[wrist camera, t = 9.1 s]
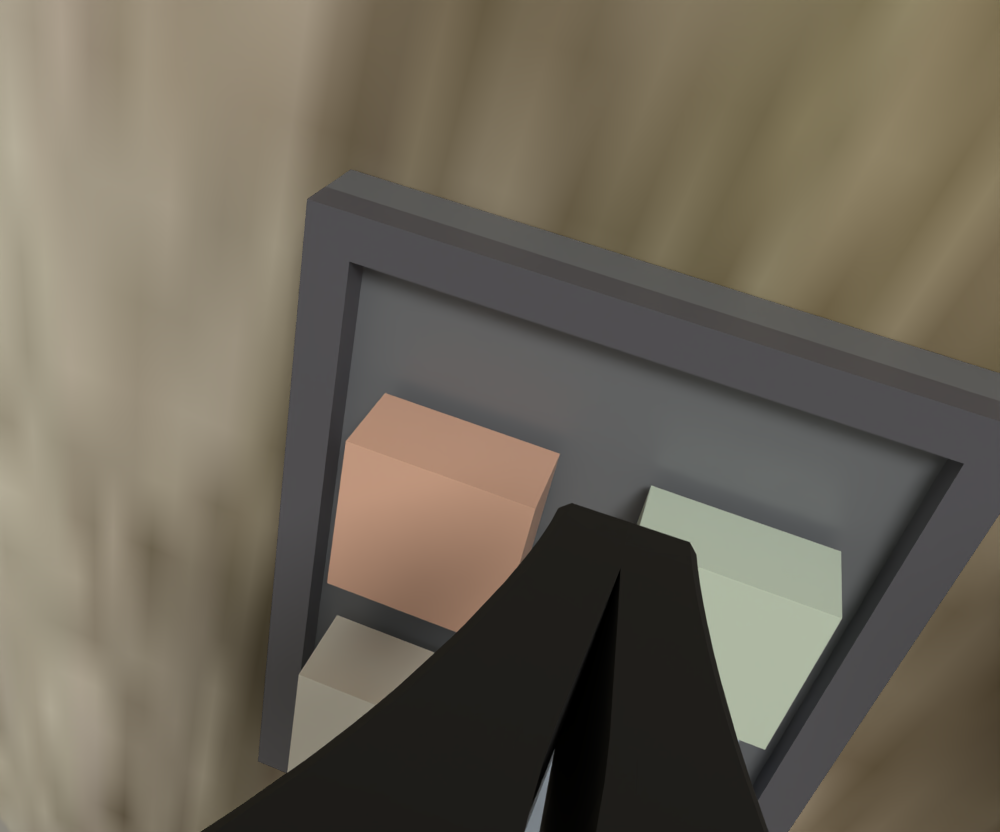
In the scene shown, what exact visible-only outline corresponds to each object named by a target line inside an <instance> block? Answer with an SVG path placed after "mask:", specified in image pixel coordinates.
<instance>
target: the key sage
mask: <svg viewBox="0 0 1000 832" xmlns="http://www.w3.org/2000/svg"><path fill="white" fill-rule="evenodd" d="M637 525H640V526H643V527H646V528H649V529H652V530H655V531H658V532H661V533H664V534H667V535H670V536H673V537H676V538H679V539H682V540H685V541H688V542H690V543H691V545H692V547H693V549H694V551H695V552H696V554H697V564H698V572H699V579H700V586H701V592H702V598H703V603H704V609H705V614H706V619H707V624H708V628H709V633H710V637H711V642H712V646H713V651H714V655H715V659H716V663H717V667H718V671H719V675H720V679H721V683H722V686H723V690H724V693H725V697H726V700H727V704H728V707H729V711H730V714H731V718H732V722H733V725H734V729H735V732H736V736H737V739H738V740H741V741H743V742H746V743H749V744H751V745H754V746H756V747H759V748H762V749H764V750H765V749H766V747H767V745H768V744H769V742H770V740H771V739H772V737H773V735H774V733H775V732H776V730H777V728H778V727H779V725H780V723H781V722H782V720H783V718H784V716H785V715H786V713H787V711H788V710H789V708H790V706H791V705H792V703H793V701H794V699H795V698H796V696H797V694H798V693H799V691H800V689H801V688H802V686H803V684H804V682H805V681H806V679H807V677H808V676H809V674H810V672H811V671H812V669H813V667H814V665H815V664H816V662H817V660H818V659H819V657H820V655H821V654H822V652H823V650H824V648H825V647H826V645H827V643H828V642H829V640H830V638H831V637H832V635H833V633H834V631H835V630H836V628H837V626H838V625H839V623H840V621H841V620H842V573H841V551H838V550H835V549H833V548H830V547H827V546H824V545H821V544H818V543H815V542H812V541H810V540H807V539H804V538H801V537H798V536H795V535H792V534H789V533H787V532H784V531H781V530H778V529H775V528H772V527H769V526H766V525H764V524H761V523H758V522H755V521H752V520H749V519H746V518H743V517H741V516H738V515H735V514H732V513H729V512H726V511H723V510H720V509H718V508H715V507H712V506H709V505H706V504H703V503H700V502H697V501H695V500H692V499H689V498H686V497H683V496H680V495H677V494H674V493H671V492H669V491H666V490H663V489H660V488H657V487H654V486H651V487H650V490H649V492H648V495H647V498H646V500H645V503H644V506H643V508H642V511H641V514H640V516H639V519H638V522H637Z"/></svg>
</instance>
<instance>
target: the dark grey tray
mask: <svg viewBox="0 0 1000 832" xmlns="http://www.w3.org/2000/svg"><path fill="white" fill-rule="evenodd" d="M385 393H387V394H390V395H392V396H395V397H398V398H401V399H404V400H407V401H410V402H413V403H415V404H418V405H421V406H424V407H427V408H430V409H433V410H436V411H438V412H441V413H444V414H447V415H450V416H453V417H456V418H459V419H461V420H464V421H467V422H470V423H473V424H476V425H479V426H482V427H484V428H487V429H490V430H493V431H496V432H499V433H502V434H505V435H507V436H510V437H513V438H516V439H519V440H522V441H525V442H528V443H530V444H533V445H536V446H539V447H542V448H545V449H548V450H551V451H553V452H556V453H559V454H560V456H559V459H558V462H557V466H556V469H555V472H554V476H553V479H552V482H551V486H550V489H549V492H548V496H547V499H546V503H545V506H544V509H543V513H542V516H541V519H540V523H539V526H538V529H537V533H536V536H535V539H534V543H533V546H532V548H533V547H534V545H535V544H536V543H537V541H538V540H539V539H540V537H541V536H542V534H543V533H544V531H545V530H546V528H547V527H548V525H549V524H550V522H551V521H552V519H553V517H554V515H555V513H556V511H557V509H558V508H559V507H562V506H565V505H567V504H570V503H574V504H577V505H580V506H583V507H586V508H589V509H592V510H595V511H598V512H601V513H604V514H607V515H610V516H613V517H616V518H619V519H622V520H625V521H628V522H631V523H634V524H637V522H638V519H639V516H640V514H641V511H642V508H643V506H644V503H645V500H646V498H647V495H648V492H649V490H650V487H651V486H654V487H657V488H660V489H663V490H666V491H669V492H671V493H674V494H677V495H680V496H683V497H686V498H689V499H692V500H695V501H697V502H700V503H703V504H706V505H709V506H712V507H715V508H718V509H720V510H723V511H726V512H729V513H732V514H735V515H738V516H741V517H743V518H746V519H749V520H752V521H755V522H758V523H761V524H764V525H766V526H769V527H772V528H775V529H778V530H781V531H784V532H787V533H789V534H792V535H795V536H798V537H801V538H804V539H807V540H810V541H812V542H815V543H818V544H821V545H824V546H827V547H830V548H833V549H835V550H838V551H841V573H842V620H841V621H840V623H839V625H838V626H837V628H836V630H835V631H834V633H833V635H832V637H831V638H830V640H829V642H828V643H827V645H826V647H825V648H824V650H823V652H822V654H821V655H820V657H819V659H818V660H817V662H816V664H815V665H814V667H813V669H812V671H811V672H810V674H809V676H808V677H807V679H806V681H805V682H804V684H803V686H802V688H801V689H800V691H799V693H798V694H797V696H796V698H795V699H794V701H793V703H792V705H791V706H790V708H789V710H788V711H787V713H786V715H785V716H784V718H783V720H782V722H781V723H780V725H779V727H778V728H777V730H776V732H775V733H774V735H773V737H772V739H771V740H770V742H769V744H768V745H767V747H766V749H765V750H764V749H762V748H759V747H756V746H754V745H751V744H749V743H746V742H743V741H741V740H739V745H740V749H741V752H742V755H743V758H744V761H745V764H746V768H747V771H748V774H749V777H750V780H751V783H752V785H753V788H754V791H755V794H756V797H757V800H758V803H759V806H760V808H761V811H762V814H763V817H764V820H765V823H766V826H767V828H768V831H769V832H788V831H789V830H790V828H791V827H792V825H793V824H794V822H795V821H796V819H797V818H798V816H799V815H800V813H801V812H802V810H803V809H804V807H805V806H806V804H807V803H808V801H809V800H810V798H811V797H812V795H813V794H814V792H815V791H816V789H817V788H818V786H819V785H820V783H821V782H822V780H823V779H824V777H825V776H826V774H827V773H828V771H829V770H830V768H831V767H832V765H833V764H834V762H835V761H836V759H837V758H838V756H839V755H840V753H841V752H842V750H843V749H844V747H845V746H846V744H847V743H848V741H849V740H850V738H851V737H852V735H853V734H854V732H855V731H856V729H857V728H858V726H859V725H860V723H861V722H862V720H863V719H864V717H865V716H866V714H867V713H868V711H869V710H870V708H871V707H872V705H873V704H874V702H875V701H876V699H877V698H878V696H879V695H880V693H881V692H882V690H883V689H884V687H885V686H886V684H887V683H888V681H889V679H890V678H891V676H892V675H893V673H894V672H895V670H896V669H897V667H898V666H899V664H900V663H901V661H902V660H903V658H904V657H905V655H906V654H907V652H908V651H909V649H910V648H911V646H912V645H913V643H914V642H915V640H916V639H917V637H918V636H919V634H920V633H921V631H922V630H923V628H924V627H925V625H926V624H927V622H928V621H929V619H930V618H931V616H932V615H933V613H934V612H935V610H936V609H937V607H938V606H939V604H940V603H941V601H942V600H943V598H944V597H945V595H946V594H947V592H948V591H949V589H950V588H951V586H952V585H953V583H954V582H955V580H956V579H957V577H958V576H959V574H960V573H961V571H962V570H963V568H964V567H965V565H966V564H967V562H968V561H969V559H970V558H971V556H972V555H973V553H974V552H975V550H976V549H977V547H978V546H979V544H980V543H981V541H982V540H983V538H984V537H985V535H986V534H987V532H988V531H989V529H990V528H991V526H992V525H993V523H994V522H995V520H996V519H997V517H998V516H999V514H1000V373H997V372H994V371H991V370H987V369H984V368H981V367H978V366H975V365H972V364H968V363H965V362H962V361H959V360H956V359H952V358H949V357H946V356H943V355H940V354H937V353H933V352H930V351H927V350H924V349H921V348H917V347H914V346H911V345H908V344H905V343H902V342H898V341H895V340H892V339H889V338H886V337H882V336H879V335H876V334H873V333H870V332H867V331H863V330H860V329H857V328H854V327H851V326H847V325H844V324H841V323H838V322H835V321H832V320H828V319H825V318H822V317H819V316H816V315H812V314H809V313H806V312H803V311H800V310H797V309H793V308H790V307H787V306H784V305H781V304H777V303H774V302H771V301H768V300H765V299H762V298H758V297H755V296H752V295H749V294H746V293H742V292H739V291H736V290H733V289H730V288H727V287H723V286H720V285H717V284H714V283H711V282H707V281H704V280H701V279H698V278H695V277H692V276H688V275H685V274H682V273H679V272H676V271H672V270H669V269H666V268H663V267H660V266H657V265H653V264H650V263H647V262H644V261H641V260H637V259H634V258H631V257H628V256H625V255H622V254H618V253H615V252H612V251H609V250H606V249H602V248H599V247H596V246H593V245H590V244H587V243H583V242H580V241H577V240H574V239H571V238H567V237H564V236H561V235H558V234H555V233H552V232H548V231H545V230H542V229H539V228H536V227H532V226H529V225H526V224H523V223H520V222H517V221H513V220H510V219H507V218H504V217H501V216H497V215H494V214H491V213H488V212H485V211H482V210H478V209H475V208H472V207H469V206H466V205H462V204H459V203H456V202H453V201H450V200H447V199H443V198H440V197H437V196H434V195H431V194H427V193H424V192H421V191H418V190H415V189H412V188H408V187H405V186H402V185H399V184H396V183H392V182H389V181H386V180H383V179H380V178H377V177H373V176H370V175H367V174H364V173H361V172H357V171H354V170H350V171H348V172H347V173H345V174H344V175H342V176H341V177H339V178H338V179H336V180H335V181H333V182H332V183H330V184H329V185H327V186H326V187H324V188H323V189H321V190H320V191H318V192H317V193H315V194H314V195H312V196H311V197H309V198H308V199H307V207H306V219H305V230H304V241H303V253H302V264H301V276H300V287H299V299H298V310H297V322H296V333H295V345H294V356H293V368H292V379H291V390H290V402H289V413H288V425H287V436H286V448H285V459H284V471H283V482H282V494H281V505H280V517H279V528H278V539H277V551H276V562H275V574H274V585H273V597H272V608H271V620H270V631H269V643H268V654H267V665H266V677H265V688H264V700H263V711H262V723H261V734H260V746H259V757H258V761H259V762H261V763H263V764H266V765H268V766H271V767H273V768H276V769H278V770H280V771H283V772H285V773H287V770H288V762H289V753H290V745H291V736H292V728H293V720H294V711H295V703H296V694H297V686H298V677H299V673H300V672H301V670H302V669H303V667H304V666H305V664H306V663H307V661H308V659H309V658H310V656H311V655H312V653H313V652H314V650H315V649H316V647H317V645H318V644H319V642H320V641H321V639H322V638H323V636H324V635H325V633H326V631H327V630H328V628H329V627H330V625H331V624H332V622H333V621H334V619H335V617H336V616H337V615H338V616H341V617H344V618H346V619H349V620H351V621H354V622H357V623H359V624H362V625H364V626H367V627H370V628H372V629H375V630H377V631H380V632H383V633H385V634H388V635H390V636H393V637H395V638H398V639H401V640H403V641H406V642H408V643H411V644H414V645H416V646H419V647H421V648H424V649H427V650H429V651H432V652H434V653H435V652H436V651H437V650H438V649H439V648H440V647H441V646H442V645H444V644H445V643H446V642H447V641H448V640H449V639H450V638H451V637H452V636H453V635H454V634H455V633H456V632H454V631H452V630H449V629H447V628H444V627H441V626H439V625H436V624H433V623H431V622H428V621H426V620H423V619H420V618H418V617H415V616H412V615H410V614H407V613H405V612H402V611H399V610H397V609H394V608H391V607H389V606H386V605H384V604H381V603H378V602H376V601H373V600H370V599H368V598H365V597H363V596H360V595H357V594H355V593H352V592H349V591H347V590H344V589H342V588H339V587H336V586H334V585H331V584H328V583H327V579H328V572H329V564H330V557H331V549H332V542H333V534H334V527H335V519H336V511H337V504H338V496H339V489H340V481H341V474H342V466H343V459H344V451H345V444H346V440H347V439H348V438H349V437H350V435H351V434H352V433H353V432H354V430H355V429H356V428H357V427H358V426H359V424H360V423H361V422H362V421H363V419H364V418H365V417H366V416H367V415H368V413H369V412H370V411H371V410H372V408H373V407H374V406H375V405H376V404H377V402H378V401H379V400H380V399H381V397H382V396H383V395H384V394H385ZM532 806H533V805H532ZM531 810H532V808H531ZM531 810H530V813H531ZM530 813H529V816H530ZM529 816H528V819H529ZM528 819H527V823H528ZM527 823H526V826H527ZM525 829H526V827H525ZM524 832H525V830H524Z"/></svg>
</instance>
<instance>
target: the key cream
mask: <svg viewBox="0 0 1000 832" xmlns="http://www.w3.org/2000/svg"><path fill="white" fill-rule="evenodd" d="M433 654H434V652H432V651H429V650H427V649H424V648H421V647H419V646H416V645H414V644H411V643H408V642H406V641H403V640H401V639H398V638H395V637H393V636H390V635H388V634H385V633H383V632H380V631H377V630H375V629H372V628H370V627H367V626H364V625H362V624H359V623H357V622H354V621H351V620H349V619H346V618H344V617H341V616H338V615H337V616H336V617H335V619H334V621H333V622H332V624H331V625H330V627H329V628H328V630H327V631H326V633H325V635H324V636H323V638H322V639H321V641H320V642H319V644H318V645H317V647H316V649H315V650H314V652H313V653H312V655H311V656H310V658H309V659H308V661H307V663H306V664H305V666H304V667H303V669H302V670H301V672H300V673H299V677H298V686H297V694H296V703H295V711H294V720H293V728H292V736H291V745H290V753H289V762H288V770H287V773H288V772H289V771H290V770H292V769H293V768H295V767H296V766H297V765H299V764H300V763H302V762H303V761H305V760H306V759H307V758H309V757H310V756H311V755H313V754H314V753H315V752H317V751H318V750H319V749H321V748H322V747H323V746H325V745H326V744H327V743H328V742H330V741H331V740H332V739H334V738H335V737H336V736H338V735H339V734H340V733H341V732H343V731H344V730H345V729H347V728H348V727H349V726H351V725H352V724H353V723H354V722H356V721H357V720H358V719H359V718H360V717H362V716H363V715H364V714H365V713H367V712H368V711H369V710H370V709H372V708H373V707H374V706H375V705H376V704H378V703H379V702H380V701H381V700H382V699H383V698H385V697H386V696H387V695H388V694H389V693H391V692H392V691H393V690H394V689H395V688H396V687H398V686H399V685H400V684H401V683H402V682H403V681H404V680H405V679H407V678H408V677H409V676H410V675H411V674H412V673H413V672H414V671H415V670H416V669H417V668H419V667H420V666H421V665H422V664H423V663H424V662H425V661H426V660H427V659H428V658H429V657H430V656H432V655H433Z"/></svg>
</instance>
